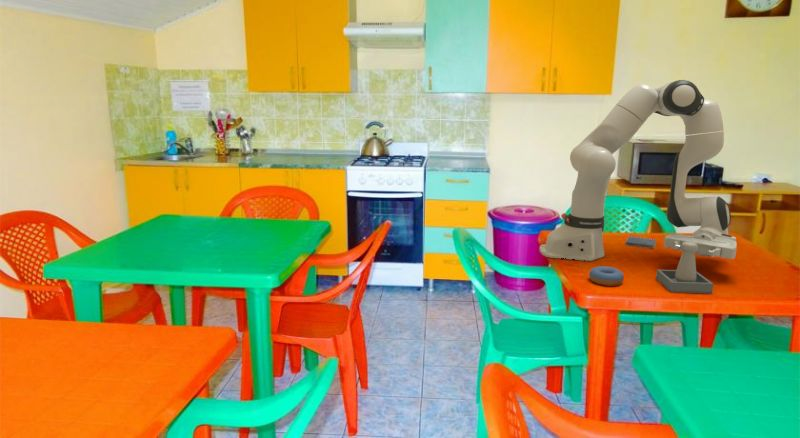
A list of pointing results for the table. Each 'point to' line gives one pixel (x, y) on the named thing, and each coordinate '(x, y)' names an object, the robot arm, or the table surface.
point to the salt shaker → (687, 263)
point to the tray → (684, 283)
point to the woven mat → (640, 242)
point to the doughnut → (606, 275)
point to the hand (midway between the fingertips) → (693, 251)
